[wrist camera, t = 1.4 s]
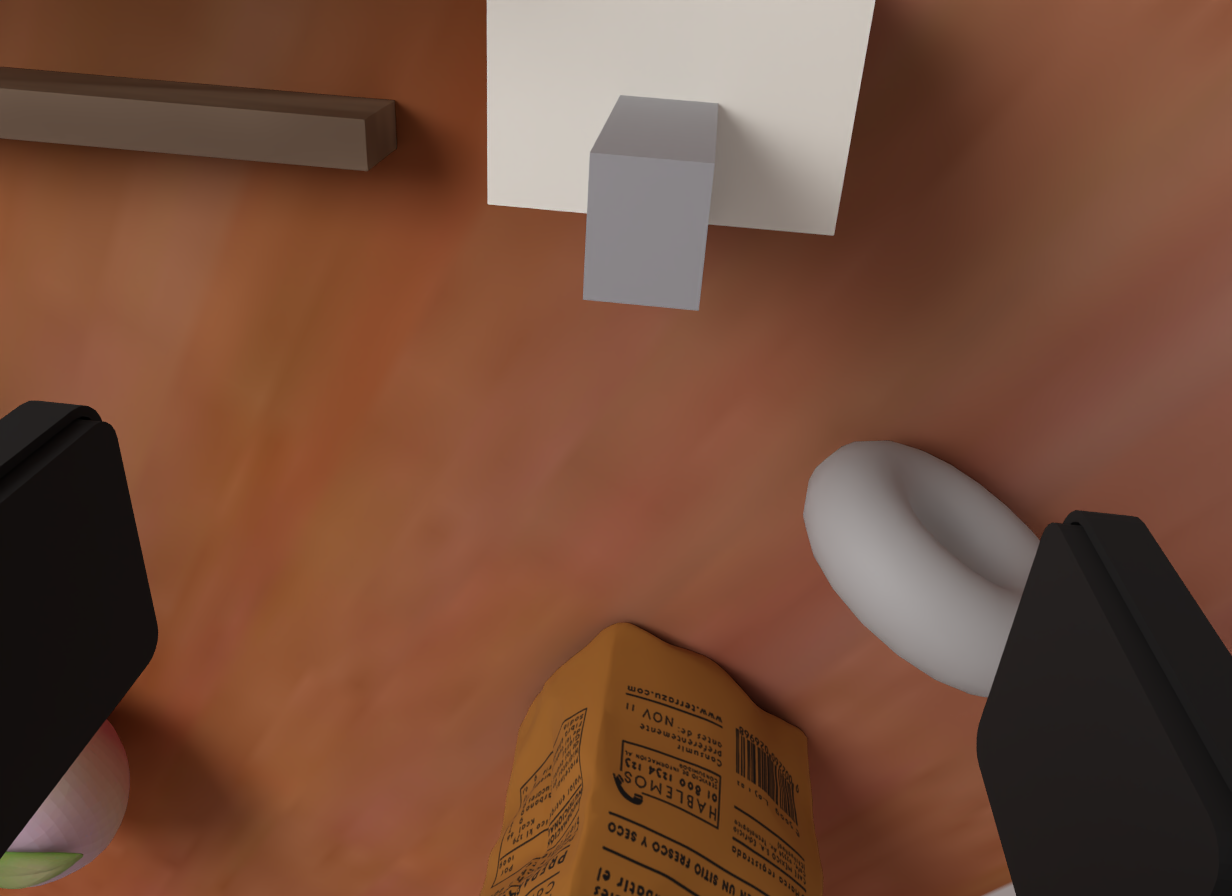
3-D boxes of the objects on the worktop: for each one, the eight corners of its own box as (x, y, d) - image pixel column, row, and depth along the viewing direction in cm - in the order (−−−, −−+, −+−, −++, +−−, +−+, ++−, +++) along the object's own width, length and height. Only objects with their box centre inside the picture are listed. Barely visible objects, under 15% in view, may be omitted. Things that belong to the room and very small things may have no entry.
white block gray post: (537, -66, 29) (414, -34, 18) (848, -43, 28) (924, 5, 17) (533, 143, 32) (426, 284, 21) (814, 167, 31) (860, 325, 20)
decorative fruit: (125, 627, 44) (-23, 807, 36) (198, 758, 48) (81, 949, 39) (-53, 647, 46) (-234, 823, 37) (31, 771, 50) (-116, 957, 41)
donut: (775, 450, 36) (789, 626, 28) (831, 379, 35) (864, 542, 26) (992, 573, 38) (1068, 775, 29) (1055, 511, 36) (1155, 705, 28)
